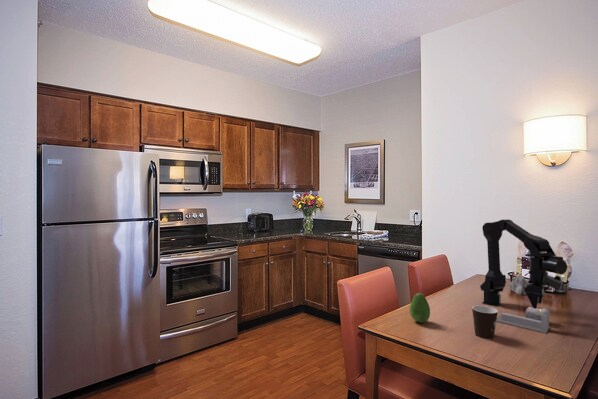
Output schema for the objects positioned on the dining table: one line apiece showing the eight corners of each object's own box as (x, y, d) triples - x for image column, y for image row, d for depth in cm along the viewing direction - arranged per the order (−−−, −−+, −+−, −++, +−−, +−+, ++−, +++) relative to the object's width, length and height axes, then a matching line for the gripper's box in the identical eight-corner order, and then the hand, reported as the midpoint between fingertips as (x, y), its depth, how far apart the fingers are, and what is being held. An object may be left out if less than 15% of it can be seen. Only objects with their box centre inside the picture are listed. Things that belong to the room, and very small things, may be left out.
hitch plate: (494, 321, 147) (494, 301, 146) (499, 316, 152) (500, 297, 152) (547, 333, 134) (547, 311, 134) (551, 328, 139) (551, 306, 139)
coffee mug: (487, 341, 127) (488, 314, 126) (466, 333, 134) (467, 307, 134) (507, 335, 132) (507, 309, 132) (485, 327, 140) (486, 303, 139)
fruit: (415, 317, 151) (415, 289, 151) (433, 322, 146) (433, 293, 145) (406, 322, 146) (406, 293, 145) (424, 327, 140) (424, 297, 140)
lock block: (525, 321, 146) (525, 308, 146) (528, 318, 151) (529, 305, 151) (545, 326, 141) (546, 312, 141) (548, 322, 146) (548, 309, 146)
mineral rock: (509, 288, 198) (509, 270, 197) (532, 291, 191) (532, 273, 191) (506, 293, 187) (507, 274, 187) (530, 297, 181) (531, 277, 181)
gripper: (557, 276, 133) (557, 316, 134) (565, 268, 147) (564, 305, 147) (524, 271, 141) (523, 309, 142) (534, 264, 154) (533, 299, 155)
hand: (537, 305), depth 146 cm, fingers open, 9 cm apart
